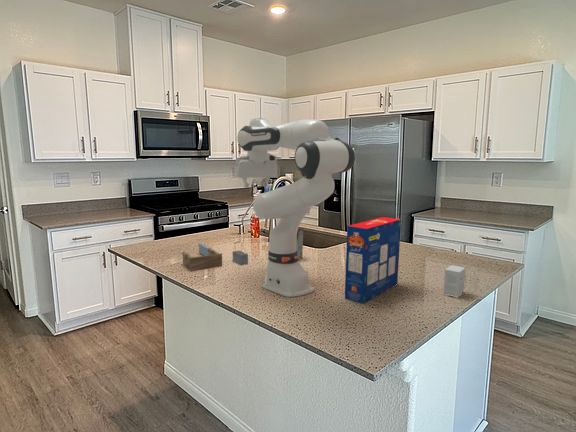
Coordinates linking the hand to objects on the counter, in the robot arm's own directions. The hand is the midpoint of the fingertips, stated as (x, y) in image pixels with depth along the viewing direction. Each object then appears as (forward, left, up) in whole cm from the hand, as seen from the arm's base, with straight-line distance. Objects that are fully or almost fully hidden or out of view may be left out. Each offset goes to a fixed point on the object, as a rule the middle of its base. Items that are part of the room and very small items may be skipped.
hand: (255, 186), depth 173 cm
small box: (-68, -51, -39) cm, 94 cm away
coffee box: (+7, -25, -39) cm, 47 cm away
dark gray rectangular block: (+15, +1, -39) cm, 42 cm away
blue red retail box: (-49, -26, -39) cm, 68 cm away
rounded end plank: (+35, +12, -39) cm, 53 cm away
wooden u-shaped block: (+21, +19, -39) cm, 48 cm away
